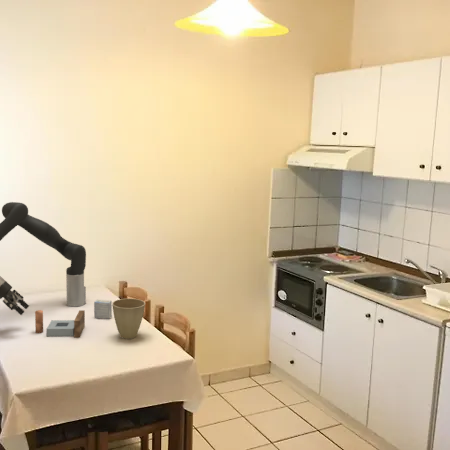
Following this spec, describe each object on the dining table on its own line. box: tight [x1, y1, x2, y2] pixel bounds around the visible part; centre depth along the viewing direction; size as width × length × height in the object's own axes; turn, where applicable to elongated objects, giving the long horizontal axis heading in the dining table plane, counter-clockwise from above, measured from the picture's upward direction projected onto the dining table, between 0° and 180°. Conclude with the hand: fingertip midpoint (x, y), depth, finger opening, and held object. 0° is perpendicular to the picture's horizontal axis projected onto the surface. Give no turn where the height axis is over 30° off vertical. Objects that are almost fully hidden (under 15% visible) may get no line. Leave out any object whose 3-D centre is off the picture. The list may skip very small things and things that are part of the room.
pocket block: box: [45, 319, 75, 338], centre depth 264 cm, size 12×12×4 cm
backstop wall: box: [73, 310, 86, 339], centre depth 265 cm, size 2×15×8 cm, turn 6°
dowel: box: [34, 309, 44, 334], centre depth 263 cm, size 3×3×10 cm
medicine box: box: [93, 299, 113, 320], centre depth 286 cm, size 8×4×9 cm, turn 84°
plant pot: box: [112, 297, 146, 340], centre depth 260 cm, size 15×15×16 cm
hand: (25, 310), depth 261 cm, fingers open, 8 cm apart
